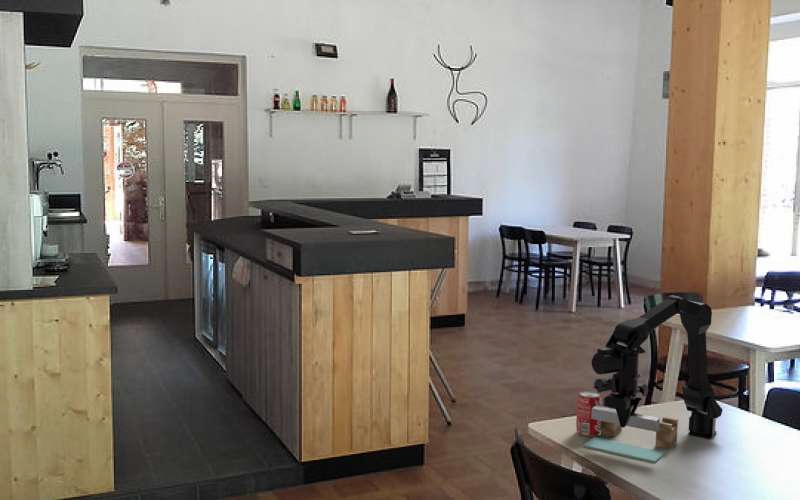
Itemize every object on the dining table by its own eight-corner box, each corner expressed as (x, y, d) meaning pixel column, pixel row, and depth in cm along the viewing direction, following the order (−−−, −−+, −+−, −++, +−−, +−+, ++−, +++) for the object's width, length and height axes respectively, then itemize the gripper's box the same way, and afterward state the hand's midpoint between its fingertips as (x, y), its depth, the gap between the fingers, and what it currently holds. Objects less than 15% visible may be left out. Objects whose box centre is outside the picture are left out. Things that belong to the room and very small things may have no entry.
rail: (659, 428, 217) (659, 417, 216) (655, 431, 214) (656, 420, 214) (595, 415, 227) (595, 405, 227) (591, 418, 225) (591, 408, 224)
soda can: (598, 430, 238) (600, 390, 236) (602, 438, 231) (604, 398, 229) (574, 429, 238) (576, 389, 237) (577, 437, 231) (578, 397, 230)
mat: (664, 454, 219) (664, 452, 219) (655, 463, 213) (655, 461, 212) (594, 438, 230) (594, 436, 230) (583, 446, 224) (583, 444, 224)
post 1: (621, 431, 237) (622, 408, 237) (613, 437, 232) (614, 414, 231) (608, 428, 240) (609, 406, 239) (600, 434, 234) (601, 411, 234)
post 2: (676, 442, 228) (677, 419, 227) (669, 449, 223) (671, 425, 222) (662, 439, 230) (663, 416, 230) (655, 446, 225) (656, 422, 224)
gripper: (610, 358, 231) (608, 411, 233) (585, 372, 216) (583, 428, 218) (649, 364, 225) (647, 418, 227) (626, 379, 210) (624, 437, 211)
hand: (624, 425), depth 221 cm, fingers closed on rail, 3 cm apart
